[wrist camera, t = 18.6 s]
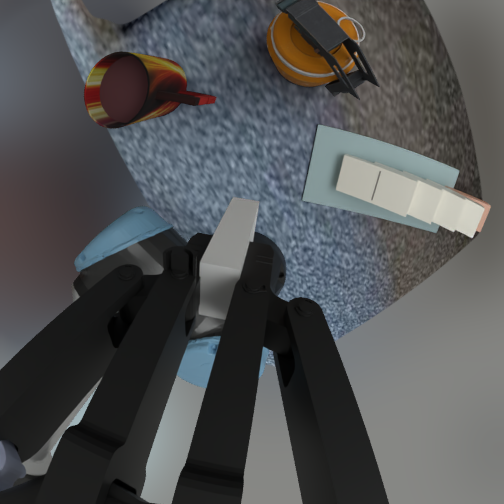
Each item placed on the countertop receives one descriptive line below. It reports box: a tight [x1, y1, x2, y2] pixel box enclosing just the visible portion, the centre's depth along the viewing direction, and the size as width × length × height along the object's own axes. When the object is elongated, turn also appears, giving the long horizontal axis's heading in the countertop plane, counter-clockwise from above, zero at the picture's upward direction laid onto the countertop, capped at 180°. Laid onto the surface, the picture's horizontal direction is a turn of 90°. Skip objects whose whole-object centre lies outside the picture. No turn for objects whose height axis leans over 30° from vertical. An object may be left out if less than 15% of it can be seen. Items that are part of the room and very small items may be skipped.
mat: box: [302, 124, 459, 233], centre depth 39 cm, size 25×12×1 cm, turn 82°
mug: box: [84, 52, 216, 128], centre depth 30 cm, size 10×14×12 cm
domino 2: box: [375, 162, 443, 224], centre depth 36 cm, size 2×5×11 cm
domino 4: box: [426, 179, 485, 238], centre depth 36 cm, size 2×5×11 cm
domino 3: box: [403, 171, 466, 232], centre depth 36 cm, size 2×5×11 cm
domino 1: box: [336, 154, 418, 217], centre depth 36 cm, size 2×5×11 cm
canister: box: [267, 0, 380, 100], centre depth 23 cm, size 9×11×20 cm
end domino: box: [445, 185, 491, 232], centre depth 37 cm, size 2×5×11 cm
